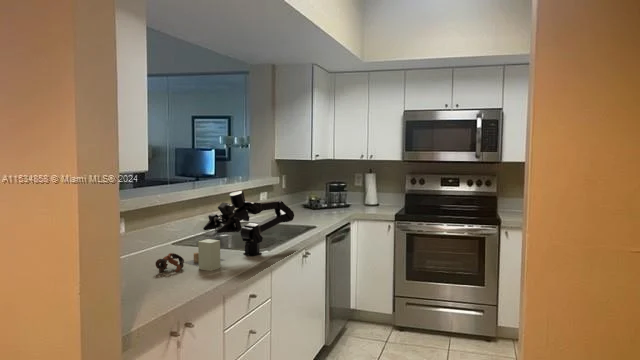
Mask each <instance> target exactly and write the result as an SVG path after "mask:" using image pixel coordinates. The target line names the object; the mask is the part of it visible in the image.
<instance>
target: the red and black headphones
mask: <svg viewBox="0 0 640 360" xmlns="http://www.w3.org/2000/svg"><path fill="white" fill-rule="evenodd" d="M184 262H185V259H184V258H183V257H182V256H181V255H179V254H176V253H174V252H170V253H168V254H167V255H165V256H164V257H162V258H159V259H157V260H156V261H155V267H156V269H158V271H159V272H164V269H167V267H168V263H169V264H171V265H173V266H174V267H176V268H175V270H174V272H176V273H177V272H180V271H181V270H182V269H183V268H184V264H185V263H184Z"/></svg>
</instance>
